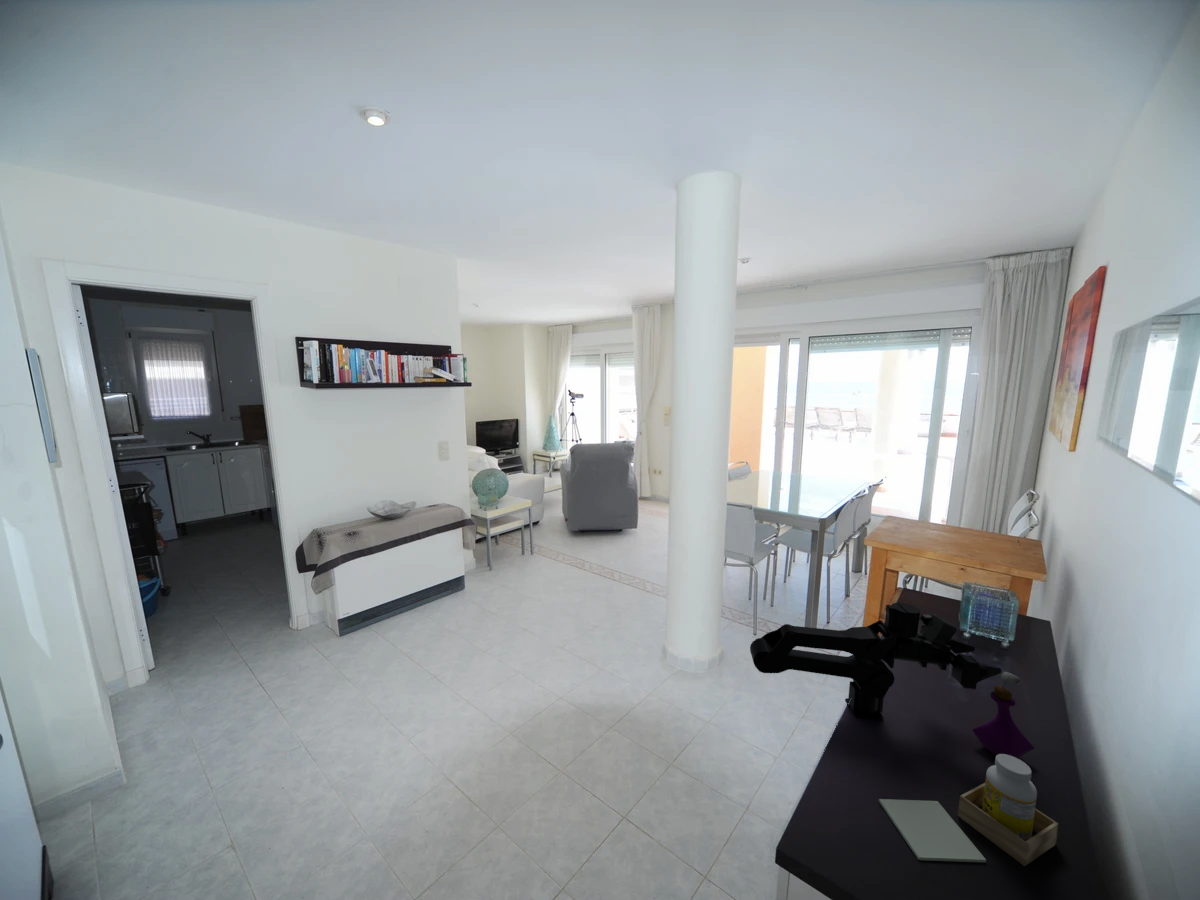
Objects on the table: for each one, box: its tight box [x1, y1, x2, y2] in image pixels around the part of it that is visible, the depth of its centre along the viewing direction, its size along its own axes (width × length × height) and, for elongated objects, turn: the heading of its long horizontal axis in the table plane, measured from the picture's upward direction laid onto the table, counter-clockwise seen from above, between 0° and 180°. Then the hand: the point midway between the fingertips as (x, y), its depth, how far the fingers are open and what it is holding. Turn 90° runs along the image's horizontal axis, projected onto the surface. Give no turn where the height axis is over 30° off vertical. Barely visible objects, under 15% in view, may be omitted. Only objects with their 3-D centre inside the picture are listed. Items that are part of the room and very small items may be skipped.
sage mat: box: [878, 798, 987, 863], centre depth 80 cm, size 11×11×1 cm
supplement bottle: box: [981, 754, 1038, 841], centre depth 79 cm, size 7×7×13 cm
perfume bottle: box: [972, 671, 1035, 759], centre depth 97 cm, size 8×8×18 cm
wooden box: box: [957, 782, 1059, 867], centre depth 80 cm, size 10×10×4 cm
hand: (986, 659), depth 105 cm, fingers open, 9 cm apart
